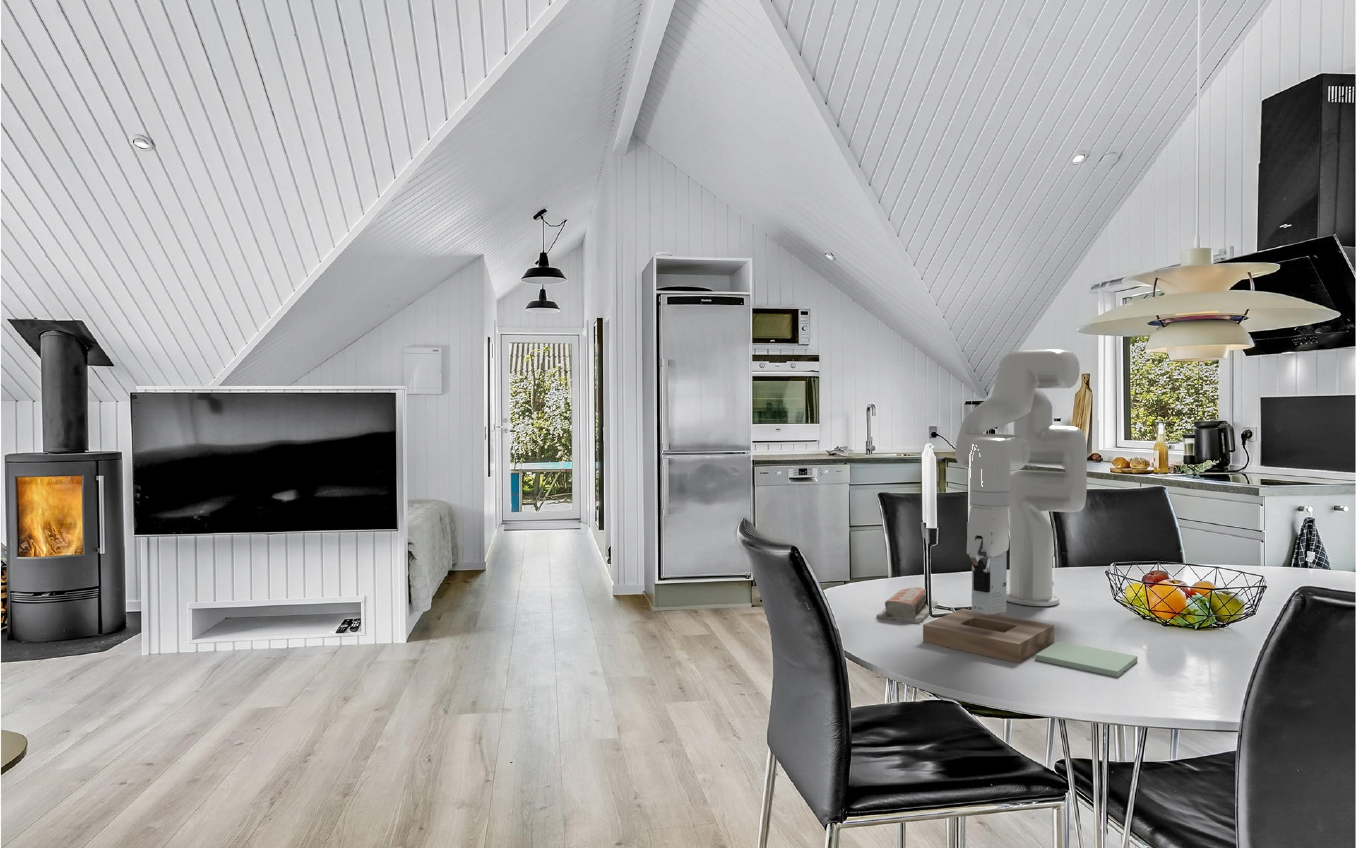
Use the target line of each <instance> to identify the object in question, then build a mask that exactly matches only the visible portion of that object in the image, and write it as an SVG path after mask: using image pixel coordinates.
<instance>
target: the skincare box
mask: <svg viewBox="0 0 1356 848" xmlns="http://www.w3.org/2000/svg"><path fill="white" fill-rule="evenodd" d="M1006 552H1007V551H1006ZM1006 552H1003V553H1002V554H1000V555H998V556H996V557H993V558H991V559H990V565H989V570H988V572H990V592H988V593H986V592H980V591H975V590H974V589H973V569H972V568H973V565H972V564H971V610H972V611H974V612H977V613H982V614H986V615H991V614H996V615H997V614H1000V613H1005V612H1007V601H1006V599H1007V598H1006V591H1007V583H1008V582H1007V579H1008V578H1007V568H1008V567H1007V555H1008V552H1007V553H1006ZM979 555H982V556H986V554H983V553H980V554H979ZM980 560H981V559H980ZM982 561H983V563H985V560H982Z"/></svg>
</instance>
